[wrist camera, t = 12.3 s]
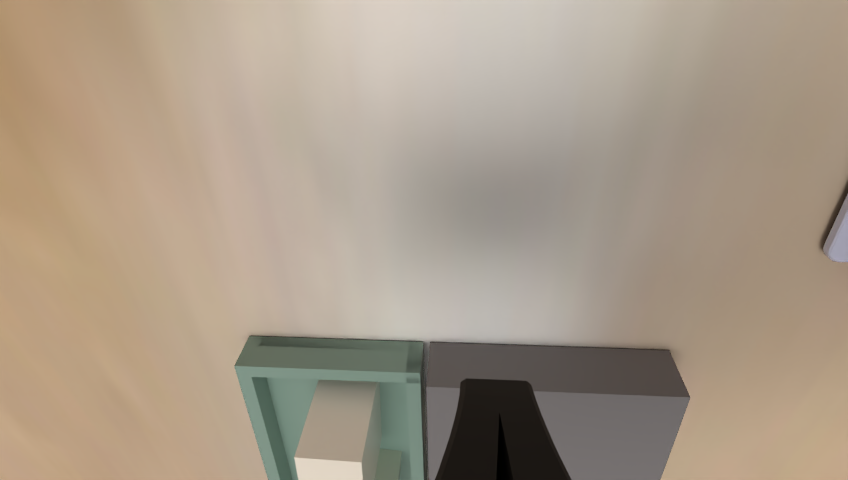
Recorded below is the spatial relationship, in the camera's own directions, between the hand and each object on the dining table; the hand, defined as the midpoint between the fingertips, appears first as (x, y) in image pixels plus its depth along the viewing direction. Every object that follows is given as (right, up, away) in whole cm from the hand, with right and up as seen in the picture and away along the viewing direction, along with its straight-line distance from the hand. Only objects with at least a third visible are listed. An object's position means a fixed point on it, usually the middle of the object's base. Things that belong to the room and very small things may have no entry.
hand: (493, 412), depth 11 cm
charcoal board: (+4, -7, +15) cm, 17 cm away
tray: (-5, -6, +16) cm, 18 cm away
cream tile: (-4, -5, +11) cm, 13 cm away
